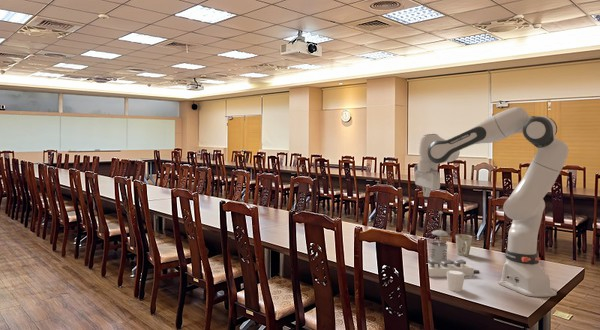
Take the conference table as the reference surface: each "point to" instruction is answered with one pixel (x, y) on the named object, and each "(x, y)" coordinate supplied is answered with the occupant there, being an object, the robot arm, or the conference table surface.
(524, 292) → the robot arm
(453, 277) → the shot glass
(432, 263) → the block
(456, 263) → the rocker
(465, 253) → the mug
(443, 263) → the plate
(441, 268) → the rocker switch panel
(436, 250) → the french press
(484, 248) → the conference table surface
